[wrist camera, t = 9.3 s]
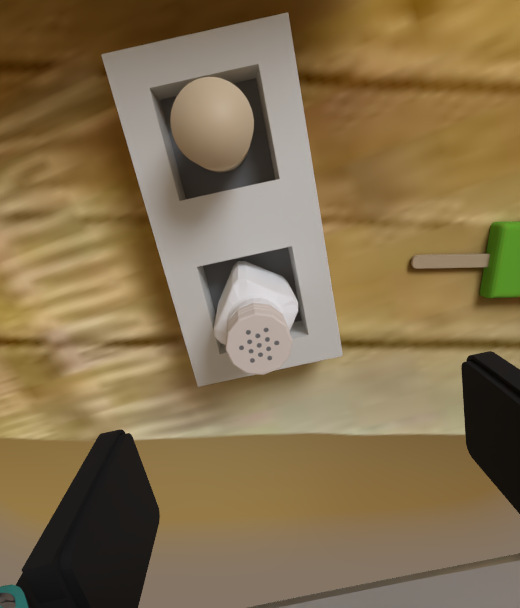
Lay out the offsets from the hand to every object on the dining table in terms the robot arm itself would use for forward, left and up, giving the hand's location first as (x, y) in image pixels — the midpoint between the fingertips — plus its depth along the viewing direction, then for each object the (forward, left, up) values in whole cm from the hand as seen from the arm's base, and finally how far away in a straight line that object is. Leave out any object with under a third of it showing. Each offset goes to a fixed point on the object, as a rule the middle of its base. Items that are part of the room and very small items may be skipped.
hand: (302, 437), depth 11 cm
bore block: (+1, -5, -18) cm, 19 cm away
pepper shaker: (+1, 0, -18) cm, 18 cm away
